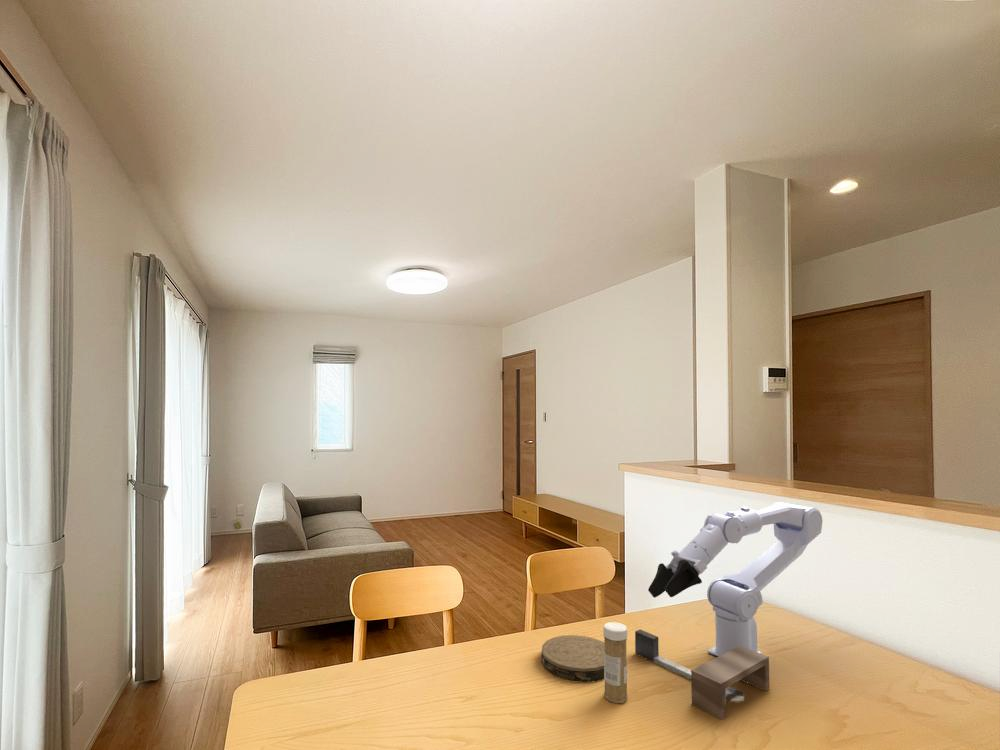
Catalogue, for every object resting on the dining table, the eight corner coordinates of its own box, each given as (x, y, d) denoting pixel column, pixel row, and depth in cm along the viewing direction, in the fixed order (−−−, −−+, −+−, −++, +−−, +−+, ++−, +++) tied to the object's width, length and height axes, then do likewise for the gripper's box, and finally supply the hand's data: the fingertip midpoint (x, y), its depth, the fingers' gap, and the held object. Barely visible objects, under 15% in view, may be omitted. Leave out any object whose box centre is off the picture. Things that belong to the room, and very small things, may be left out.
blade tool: (630, 655, 117) (630, 632, 117) (644, 649, 120) (644, 627, 120) (701, 689, 103) (700, 663, 103) (714, 681, 106) (714, 656, 106)
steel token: (727, 689, 103) (727, 684, 104) (748, 699, 100) (748, 694, 100) (715, 696, 101) (715, 691, 101) (736, 707, 97) (736, 701, 97)
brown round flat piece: (592, 644, 123) (592, 631, 123) (629, 677, 108) (629, 662, 108) (530, 653, 118) (530, 640, 118) (560, 689, 103) (560, 673, 103)
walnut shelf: (740, 676, 108) (739, 645, 109) (769, 688, 103) (768, 656, 104) (691, 704, 97) (691, 670, 98) (721, 719, 93) (720, 683, 93)
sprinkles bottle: (632, 699, 99) (632, 627, 100) (615, 707, 96) (615, 632, 97) (615, 689, 102) (614, 619, 103) (598, 695, 100) (598, 624, 101)
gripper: (671, 541, 123) (633, 578, 118) (704, 534, 110) (662, 576, 105) (691, 566, 121) (653, 605, 116) (727, 562, 108) (686, 605, 103)
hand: (659, 593), depth 110 cm, fingers open, 7 cm apart
